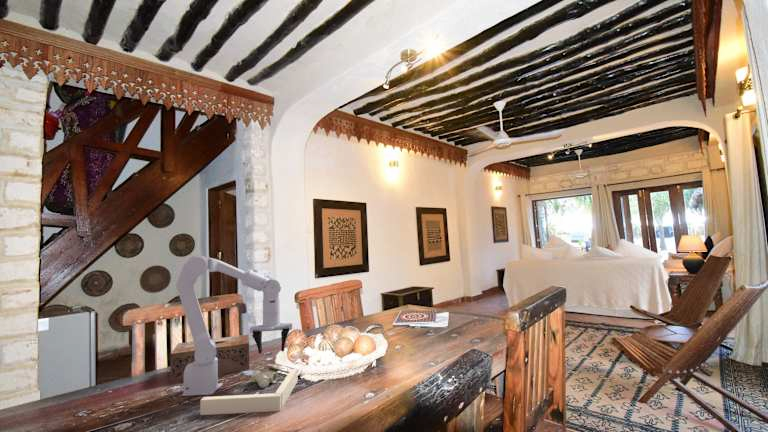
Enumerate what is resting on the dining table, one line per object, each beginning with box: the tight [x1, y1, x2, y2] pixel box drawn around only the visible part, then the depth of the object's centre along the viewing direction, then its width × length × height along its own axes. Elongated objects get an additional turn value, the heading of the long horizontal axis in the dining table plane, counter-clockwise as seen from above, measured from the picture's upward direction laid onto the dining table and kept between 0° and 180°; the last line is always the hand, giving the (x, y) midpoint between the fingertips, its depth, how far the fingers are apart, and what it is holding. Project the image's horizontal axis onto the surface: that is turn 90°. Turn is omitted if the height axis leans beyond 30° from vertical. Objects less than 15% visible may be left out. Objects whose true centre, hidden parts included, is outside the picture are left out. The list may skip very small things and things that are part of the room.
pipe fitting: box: [250, 370, 279, 389], centre depth 115 cm, size 8×4×7 cm
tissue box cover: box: [169, 334, 250, 383], centre depth 132 cm, size 26×14×10 cm, turn 112°
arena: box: [199, 368, 299, 416], centre depth 106 cm, size 22×21×4 cm
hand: (271, 351), depth 122 cm, fingers open, 7 cm apart
